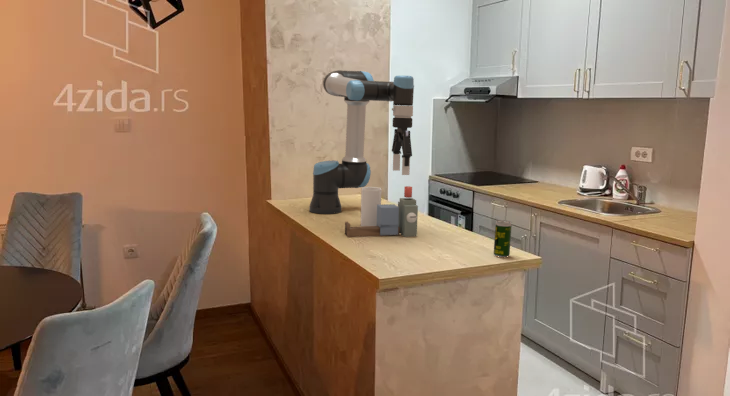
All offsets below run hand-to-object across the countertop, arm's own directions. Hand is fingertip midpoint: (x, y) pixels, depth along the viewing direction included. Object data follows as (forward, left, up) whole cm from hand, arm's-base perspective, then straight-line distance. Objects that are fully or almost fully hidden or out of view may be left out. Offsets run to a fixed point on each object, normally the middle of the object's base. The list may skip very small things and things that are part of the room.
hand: (400, 172), depth 216 cm
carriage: (0, -5, -24) cm, 25 cm away
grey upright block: (0, +3, -24) cm, 25 cm away
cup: (-15, -8, -25) cm, 30 cm away
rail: (0, -11, -24) cm, 27 cm away
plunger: (0, +3, -10) cm, 10 cm away
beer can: (+36, +26, -25) cm, 51 cm away
